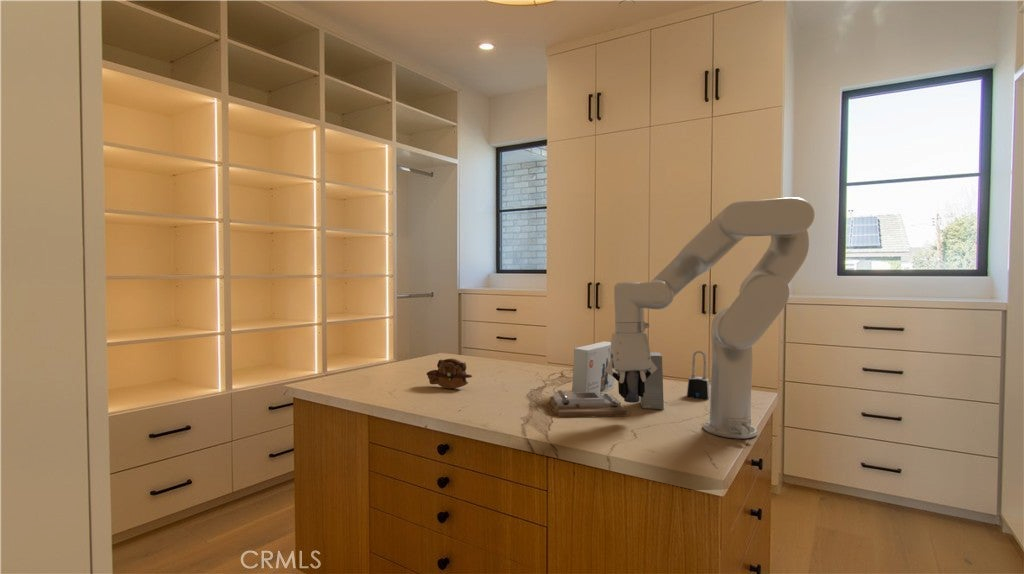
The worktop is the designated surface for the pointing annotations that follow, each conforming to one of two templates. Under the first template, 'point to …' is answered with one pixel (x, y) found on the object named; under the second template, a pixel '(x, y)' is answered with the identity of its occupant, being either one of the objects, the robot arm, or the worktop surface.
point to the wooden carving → (449, 374)
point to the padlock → (698, 382)
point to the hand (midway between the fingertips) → (631, 395)
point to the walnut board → (588, 411)
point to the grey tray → (584, 400)
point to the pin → (632, 386)
